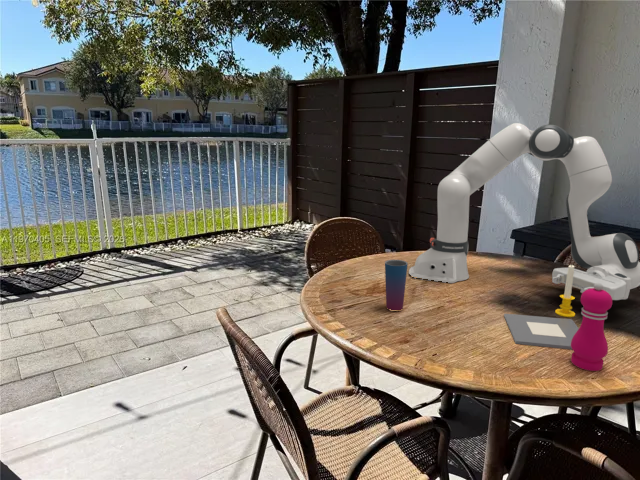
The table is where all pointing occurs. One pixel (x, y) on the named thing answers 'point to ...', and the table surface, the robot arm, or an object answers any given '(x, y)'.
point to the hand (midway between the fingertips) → (568, 285)
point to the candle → (567, 296)
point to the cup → (395, 283)
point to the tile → (541, 330)
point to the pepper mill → (591, 330)
